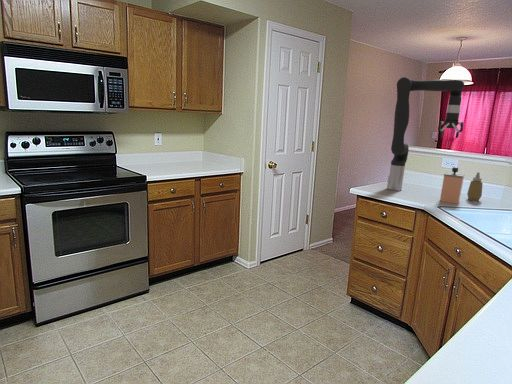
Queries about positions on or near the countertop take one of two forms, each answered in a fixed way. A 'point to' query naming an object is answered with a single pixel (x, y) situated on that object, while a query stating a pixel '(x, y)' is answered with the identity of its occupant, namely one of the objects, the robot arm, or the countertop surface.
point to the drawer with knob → (454, 173)
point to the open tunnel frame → (451, 189)
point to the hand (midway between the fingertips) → (448, 137)
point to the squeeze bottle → (475, 188)
